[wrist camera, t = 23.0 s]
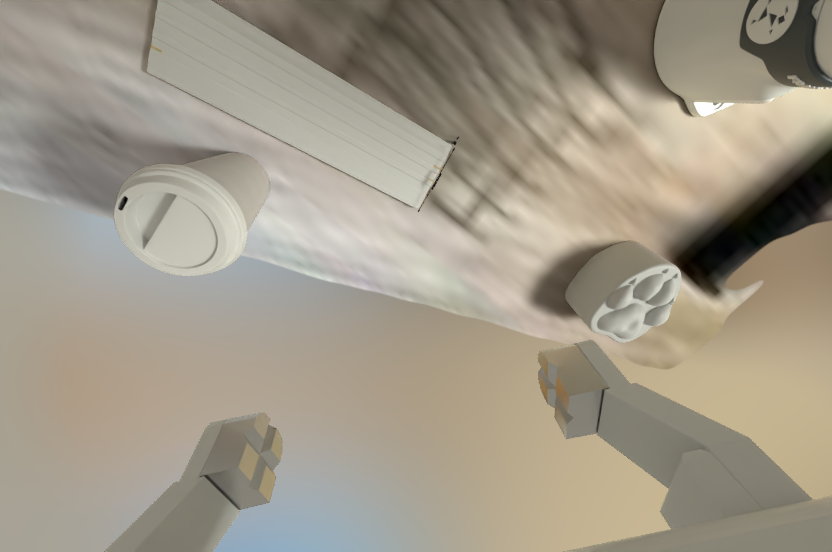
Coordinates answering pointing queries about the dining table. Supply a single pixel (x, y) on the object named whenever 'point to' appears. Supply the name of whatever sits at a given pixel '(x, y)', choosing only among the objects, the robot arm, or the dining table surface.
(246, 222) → the coffee cup
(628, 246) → the lumpy-topped squat cylinder
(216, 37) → the baseboard
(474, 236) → the dining table surface
